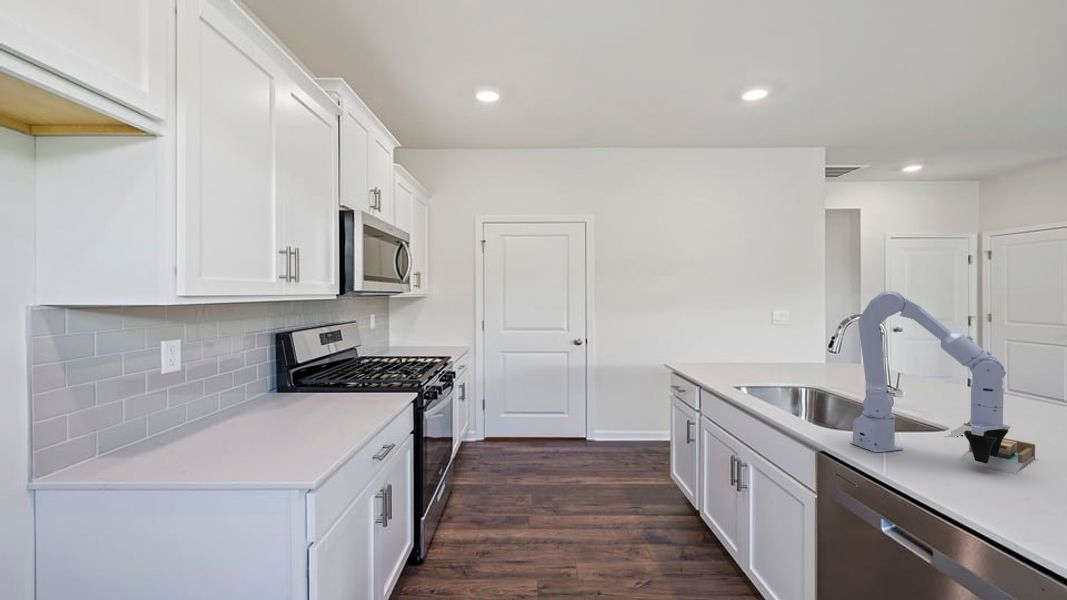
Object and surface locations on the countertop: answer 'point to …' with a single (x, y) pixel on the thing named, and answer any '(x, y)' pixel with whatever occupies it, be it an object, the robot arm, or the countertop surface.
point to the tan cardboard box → (1007, 449)
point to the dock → (1024, 457)
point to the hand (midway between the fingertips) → (986, 458)
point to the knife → (961, 430)
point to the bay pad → (1012, 458)
